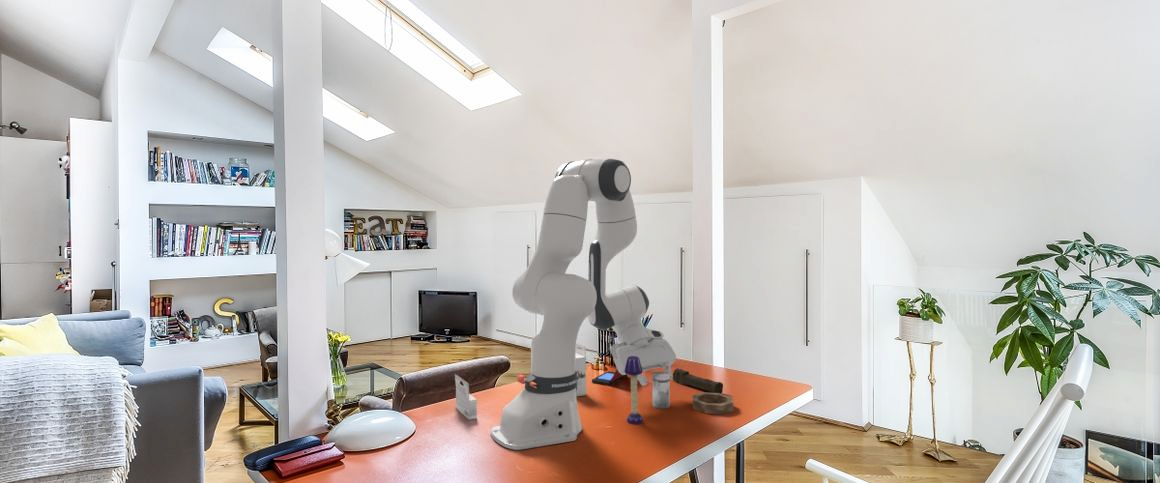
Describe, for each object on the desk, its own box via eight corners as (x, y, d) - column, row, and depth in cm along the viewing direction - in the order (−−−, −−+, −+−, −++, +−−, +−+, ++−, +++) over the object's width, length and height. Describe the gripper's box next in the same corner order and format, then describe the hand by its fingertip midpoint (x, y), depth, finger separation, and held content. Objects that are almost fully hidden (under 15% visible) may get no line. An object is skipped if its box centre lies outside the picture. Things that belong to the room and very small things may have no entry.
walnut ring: (713, 416, 138) (713, 407, 138) (684, 405, 147) (684, 397, 147) (740, 409, 144) (741, 400, 144) (711, 398, 153) (711, 390, 153)
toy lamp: (637, 425, 132) (637, 360, 131) (621, 422, 134) (621, 357, 134) (645, 419, 136) (645, 356, 135) (629, 416, 138) (629, 354, 138)
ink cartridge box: (463, 406, 147) (463, 372, 146) (477, 418, 137) (477, 382, 137) (454, 408, 145) (454, 373, 145) (468, 420, 136) (468, 383, 136)
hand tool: (724, 394, 158) (724, 379, 158) (715, 396, 155) (715, 381, 155) (678, 380, 173) (679, 366, 173) (670, 382, 171) (670, 367, 171)
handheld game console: (608, 374, 180) (608, 352, 180) (636, 378, 175) (636, 356, 175) (590, 383, 170) (590, 360, 169) (619, 388, 164) (619, 365, 164)
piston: (660, 409, 143) (660, 377, 143) (648, 404, 147) (648, 373, 147) (673, 406, 146) (673, 374, 146) (661, 401, 150) (661, 370, 150)
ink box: (560, 389, 162) (559, 342, 162) (574, 387, 164) (574, 341, 164) (571, 397, 154) (571, 348, 154) (586, 395, 156) (586, 346, 156)
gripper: (612, 339, 148) (634, 381, 140) (665, 331, 160) (689, 369, 152) (603, 351, 152) (624, 393, 144) (655, 343, 163) (678, 381, 155)
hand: (657, 381), depth 148 cm, fingers open, 8 cm apart
